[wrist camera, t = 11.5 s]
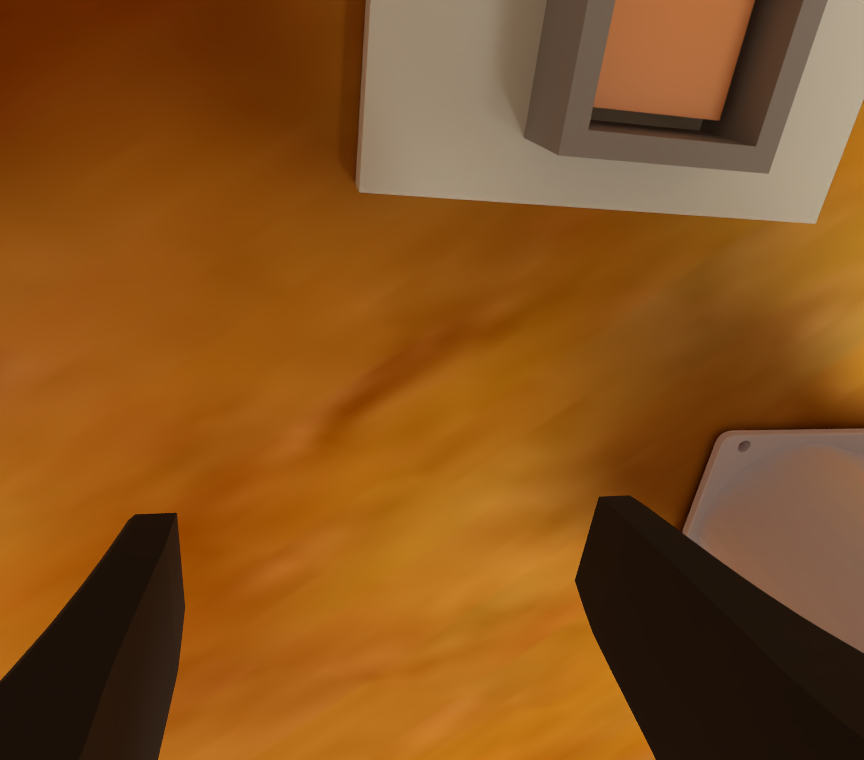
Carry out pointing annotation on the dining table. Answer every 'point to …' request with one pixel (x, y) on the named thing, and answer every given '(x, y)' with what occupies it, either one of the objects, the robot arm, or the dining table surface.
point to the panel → (601, 111)
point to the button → (672, 56)
